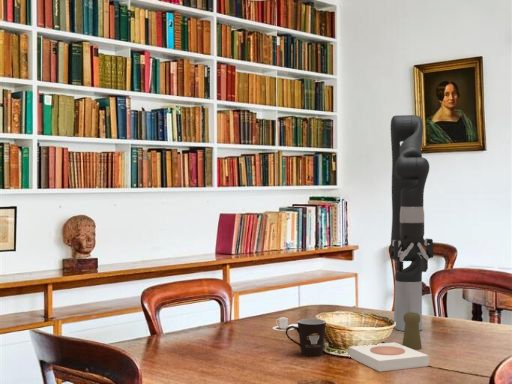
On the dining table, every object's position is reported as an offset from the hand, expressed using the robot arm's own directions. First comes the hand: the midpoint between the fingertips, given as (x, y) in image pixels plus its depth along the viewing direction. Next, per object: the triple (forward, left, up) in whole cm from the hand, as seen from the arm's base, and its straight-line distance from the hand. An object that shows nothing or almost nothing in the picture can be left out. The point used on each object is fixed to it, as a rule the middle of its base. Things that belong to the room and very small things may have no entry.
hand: (412, 272), depth 230 cm
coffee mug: (-5, -34, -24) cm, 42 cm away
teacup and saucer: (-39, -26, -24) cm, 53 cm away
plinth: (+12, -16, -24) cm, 31 cm away
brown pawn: (0, 0, -24) cm, 24 cm away
